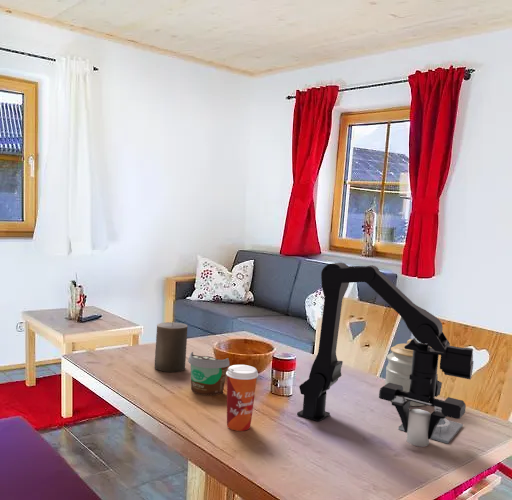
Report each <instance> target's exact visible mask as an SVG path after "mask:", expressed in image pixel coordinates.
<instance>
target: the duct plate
mask: <svg viewBox="0 0 512 500" xmlns="http://www.w3.org/2000/svg"><path fill="white" fill-rule="evenodd" d="M463 426H464V425H463V423H460V422H457V421H452V420H448V419H447V417H446V418H445V419H440V421H439V423H438V425H437V427H436V429H435V431H434V433H433V435H432V437H431V439H430V440H434V441H437V442H439V443H444V444H447V445H448V444H450V443H451V441H452V440H453V439H454V437H455V436H456V435H457V434H458V433H459V431H460V430H461V429H462V428H463ZM398 430H399V431H403V432H405V430H404V427H403V424H402V423H401V424H400V425H399V426H398Z"/></svg>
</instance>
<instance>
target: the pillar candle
mask: <svg viewBox="0 0 512 500" xmlns="http://www.w3.org/2000/svg"><path fill="white" fill-rule="evenodd" d="M188 327H189V326H188V324H186V323H180V322H174V321H173V320H171V321H170V322H160V323H157V324H156V336H155V349H154V350H155V352H154V355H155V356H154V368H155V369H156V370H157V371H162V372H165V373H167V372H168V373H172V372H173V373H174V372H175V373H176V372H182V371H184V370H185V369H186V361H187V344H188V343H187V341H188Z"/></svg>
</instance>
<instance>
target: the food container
mask: <svg viewBox="0 0 512 500" xmlns="http://www.w3.org/2000/svg"><path fill="white" fill-rule="evenodd" d="M187 363H189V364H190V388H191V391H192V393H194V392H195V393H194V394H197V395H201V396H216V395H217V394H218V395H221V394H223V393H224V388H225V384H226V383H225V382H226V379H227V375H226V372H227V371H228V368H229V367H230V366H231V365H230V360H229V357H227V358H225V359H224V358H223V359H218V358H216V357H213V356H205V355H204V356H203V355H202V356H201V355H197V354H196V355H195V354H194V351H191V352H190V353H189V357H188V360H187Z"/></svg>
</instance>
